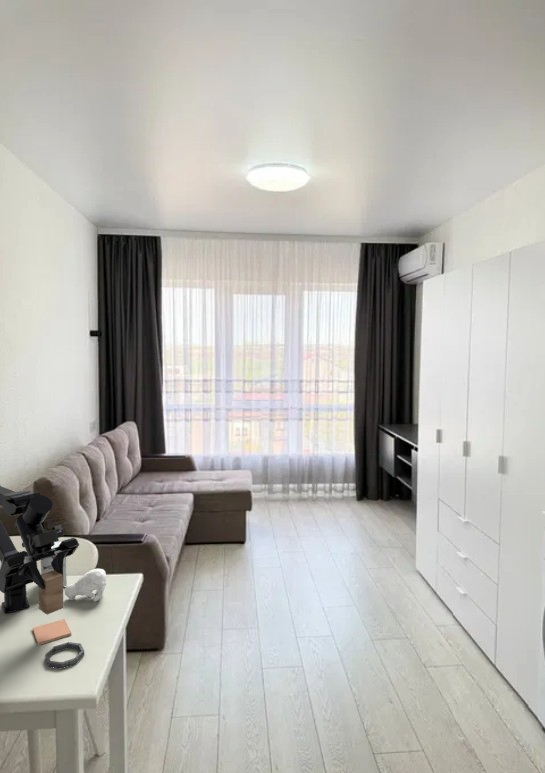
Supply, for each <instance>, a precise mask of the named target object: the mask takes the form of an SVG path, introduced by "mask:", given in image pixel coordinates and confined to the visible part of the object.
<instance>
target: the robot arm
mask: <svg viewBox="0 0 545 773" xmlns="http://www.w3.org/2000/svg"><path fill="white" fill-rule="evenodd" d="M0 507H3V512H4V513H5V514H6V515H7V516H9V517H14V516H18V515H19V516H18V517H17V518H16V521H15V523H14V529H17V531H18V533H19V537H20V538H21V541H22V543H21V547H22V548H24V549H25V550H22V551H18V550H17V548H16V545H15V544H14V542H13V540H12V539H11V536H10V534H8V531H7V530H6V527H5V525H4V524H3V522H2V520H1V519H0V592H1V593H2V594H3V600H4V601H2V602H1V606H2V610H3V613H4V614H9V613H13V612H16V611H20V610H24V609H28V608H30V603H29V600H28V597H27V585H29V584H32V583H34V584H36V585H37V587H38V586H39V587H40V588H41V589H45V584H44V581H43V579H42V577H41V571H40V570H39V569H38V568H39V567H38V561H41V560H42V559H45V558H48V557H52V559H53V561H52V562H51V565H52V567H53V569H54V570H55V571H57V572H59V573H60V574H62V575H63V560H64V557H66V558H67V557H70V556H72V555H74V553H75V552H76V551H77V549H78V548H79V546H80V543H79V541H78V539H77V538H74V537H71V538H67V539H64V540H61V541H62V542H61V541H59V539H60V538H61V537H64V535H65V532H64V529H63V526H62V525H61V524H59V525H54V526H52V527H51V530H49V531H48V529H46V528H44V527H43V525H42V523H43V522H44V521H45V519H46V518H47V517H48V515H49V513H50V512H51V510H52V509H53V502H52V500H51V499H50V498H49V497H47V496H45V495H41V493H40V492H39V491H38V492H32V491H31V490H22V491H13V490H12V489H9V488H7V487H4V486H1V485H0ZM54 542H61V543H60V545H59V546H58V547H56V548H53V549H52V548H51V547H52V546H54V544H55V543H54Z"/></svg>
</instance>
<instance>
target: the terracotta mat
mask: <svg viewBox="0 0 545 773" xmlns="http://www.w3.org/2000/svg"><path fill="white" fill-rule="evenodd" d="M32 632H33V634H34V637H35V640H36V644H37V646H40V645H42V644H43V645H44V644H45V643H46V644H47V643H49V642H53V641H56V640H59V639H63V638H66V637H69V636H72V631H71V629H70V627H69V625H68V623H67V621H66V619H65V618H63V619H59V620H56V621H53V622H49V623H48V622H47V623H45V624H41V625H38V626H34V627H32Z"/></svg>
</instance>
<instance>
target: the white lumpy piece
mask: <svg viewBox="0 0 545 773" xmlns="http://www.w3.org/2000/svg"><path fill="white" fill-rule="evenodd" d="M106 580H107V574H106V571H105V569H103V568H94V569H90V570H88V571H87V572H86V573H84V574H83V575H82V576H81V577H80V578H79V579H78V580H77V581H75V582H74V583H71V584H68V585H67V586H66V587H65V590H64V596H66V598H68V599H69V600H70V599H71V601H73V602H74V600H75V599H76V597H77V596H85V597H88V598H93V602H97V601H98V600H100V599H101V597H102V596H103V594H104V591H105V589H106V586H107V581H106ZM94 591H95V593H94Z"/></svg>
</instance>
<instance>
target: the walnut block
mask: <svg viewBox="0 0 545 773" xmlns="http://www.w3.org/2000/svg"><path fill="white" fill-rule="evenodd" d="M41 577H42V579H43V581H44V584H45V589H41V588H40V587H39V586H38V585H37V590H38V592H37V593H38V609H39V611H41V612H42V613H44V614H46V615H50V614H52V613H55V612H57V611H60V610H62V609H64V587H63V575H62V574H60V573H59V572H57V571H55V570H53V571H50V572H47V573H44V574H42V575H41Z"/></svg>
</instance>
